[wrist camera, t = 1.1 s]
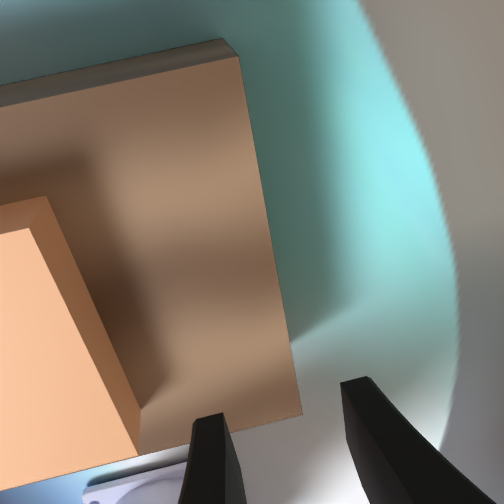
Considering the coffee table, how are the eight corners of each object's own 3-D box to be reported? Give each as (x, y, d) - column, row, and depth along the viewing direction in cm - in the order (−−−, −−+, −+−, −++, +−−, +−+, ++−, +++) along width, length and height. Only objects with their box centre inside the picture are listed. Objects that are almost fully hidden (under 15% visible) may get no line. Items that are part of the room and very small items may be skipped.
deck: (282, 349, 23) (302, 414, 20) (-51, 431, 22) (-90, 514, 19) (222, 37, 16) (238, 56, 12) (-275, 144, 15) (-405, 195, 12)
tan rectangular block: (140, 410, 18) (138, 455, 16) (-18, 449, 18) (-38, 500, 16) (45, 195, 13) (28, 228, 12) (-172, 244, 13) (-223, 285, 11)
